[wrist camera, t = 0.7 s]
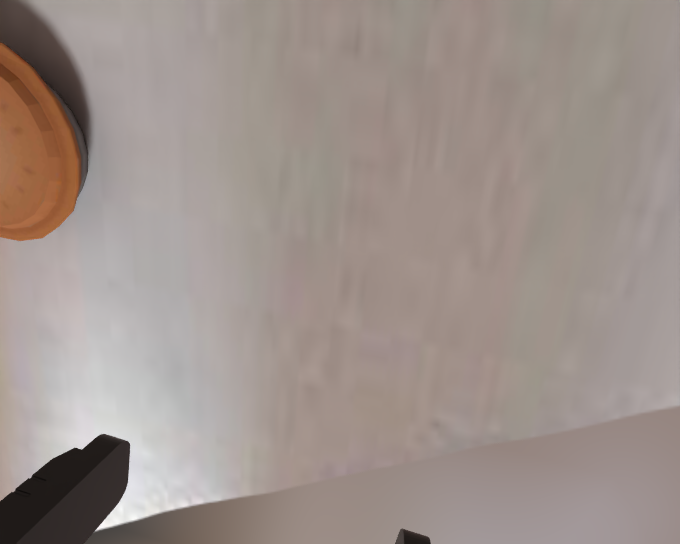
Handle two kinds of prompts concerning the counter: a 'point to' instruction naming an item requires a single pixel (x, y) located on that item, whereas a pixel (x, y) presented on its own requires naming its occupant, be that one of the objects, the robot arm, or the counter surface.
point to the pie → (36, 153)
